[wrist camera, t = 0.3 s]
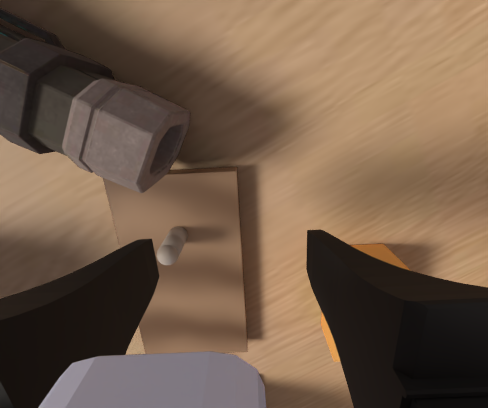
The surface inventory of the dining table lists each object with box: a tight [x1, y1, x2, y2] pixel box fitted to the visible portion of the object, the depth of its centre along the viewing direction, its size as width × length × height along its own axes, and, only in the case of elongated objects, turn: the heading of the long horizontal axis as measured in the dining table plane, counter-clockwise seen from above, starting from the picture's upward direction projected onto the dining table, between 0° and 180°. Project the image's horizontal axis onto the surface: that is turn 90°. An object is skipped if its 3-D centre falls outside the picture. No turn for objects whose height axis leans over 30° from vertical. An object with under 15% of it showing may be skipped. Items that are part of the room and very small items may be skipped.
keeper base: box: [103, 167, 248, 354], centre depth 21 cm, size 18×10×5 cm, turn 3°
